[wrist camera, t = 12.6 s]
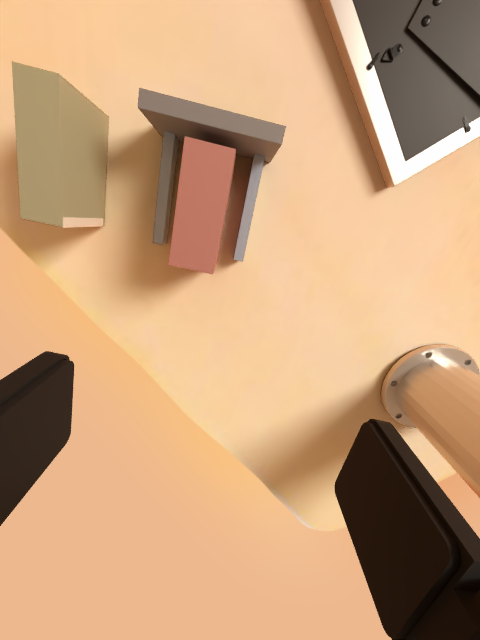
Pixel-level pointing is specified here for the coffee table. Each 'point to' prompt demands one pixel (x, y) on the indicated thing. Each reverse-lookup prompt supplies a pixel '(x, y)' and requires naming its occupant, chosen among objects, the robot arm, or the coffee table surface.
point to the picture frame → (411, 76)
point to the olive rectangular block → (59, 150)
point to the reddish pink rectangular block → (201, 204)
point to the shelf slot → (214, 127)
